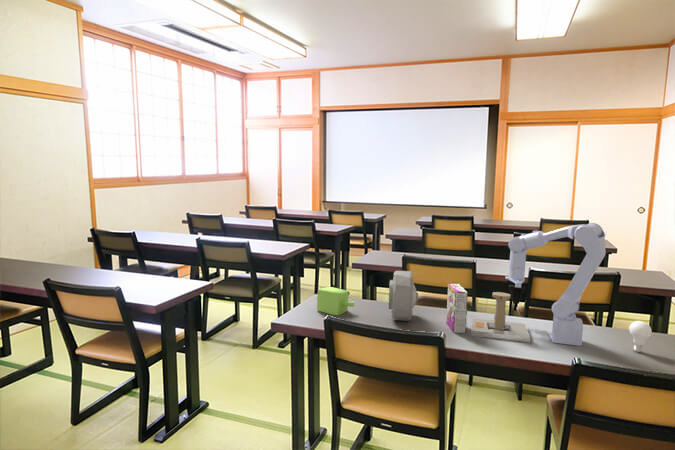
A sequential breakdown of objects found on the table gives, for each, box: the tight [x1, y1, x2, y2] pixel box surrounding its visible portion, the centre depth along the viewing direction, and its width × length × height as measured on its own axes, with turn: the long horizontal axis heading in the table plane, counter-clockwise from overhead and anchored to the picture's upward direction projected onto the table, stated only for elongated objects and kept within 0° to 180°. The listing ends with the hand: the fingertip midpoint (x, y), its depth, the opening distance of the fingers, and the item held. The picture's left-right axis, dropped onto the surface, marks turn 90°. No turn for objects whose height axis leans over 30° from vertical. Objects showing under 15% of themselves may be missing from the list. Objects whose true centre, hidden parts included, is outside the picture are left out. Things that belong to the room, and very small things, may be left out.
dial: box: [388, 270, 419, 322], centre depth 177 cm, size 20×12×20 cm, turn 171°
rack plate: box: [470, 317, 531, 343], centre depth 165 cm, size 20×14×2 cm
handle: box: [491, 291, 511, 331], centre depth 164 cm, size 5×6×15 cm
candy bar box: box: [445, 283, 468, 334], centre depth 168 cm, size 11×5×16 cm, turn 0°
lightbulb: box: [628, 320, 653, 353], centre depth 149 cm, size 6×6×11 cm
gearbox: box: [315, 286, 355, 316], centre depth 186 cm, size 18×10×10 cm, turn 56°
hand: (514, 300), depth 171 cm, fingers open, 7 cm apart
